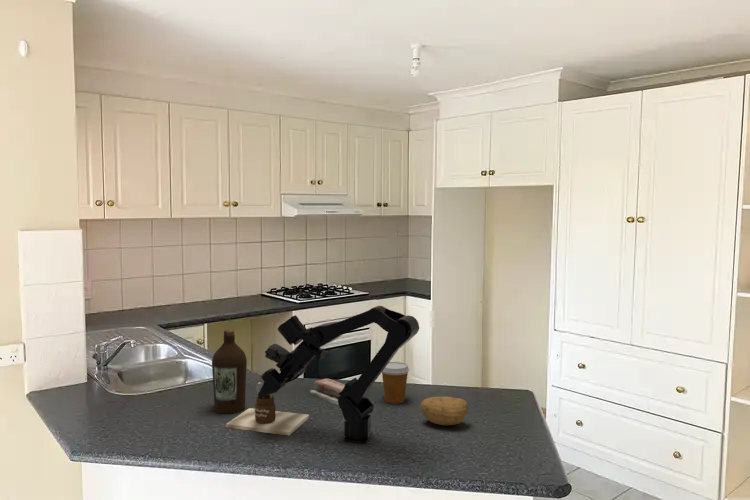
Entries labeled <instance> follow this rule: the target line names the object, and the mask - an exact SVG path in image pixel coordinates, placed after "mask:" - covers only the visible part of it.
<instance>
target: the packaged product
mask: <svg viewBox="0 0 750 500" xmlns="http://www.w3.org/2000/svg"><path fill="white" fill-rule="evenodd" d="M313 385H314V386H313V389H310V390H309V394H310V395H312V396H315V397H317V398H320V399H321V400H323V401H327V402H329V403H331V404H333V405H336V406H338V407H339V404H338V398H339V396H340V395H339V394H338V393H340V392H341V391H342V390H343V388H344V386H345V384H344V383H341V382H339V381H336V380H334V379H330V378H322V379H318V380H316V381H314V383H313Z"/></svg>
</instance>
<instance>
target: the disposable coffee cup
mask: <svg viewBox="0 0 750 500" xmlns="http://www.w3.org/2000/svg"><path fill="white" fill-rule="evenodd" d="M408 365H409V364H407V363H405V362H402V361H401V362H400V361H390V362H389V363H388V364H387V366H386V367H385V368H384V370H383V371H382V372H381V376H382V384H383V394H384V401H385V402H386V403H388V404H392V405H396V404H397V405H398V404H402V403H405V396H406V391H407V390H406V389H407V381H408V374H409V372H410V368H409V366H408Z"/></svg>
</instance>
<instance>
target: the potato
mask: <svg viewBox="0 0 750 500" xmlns="http://www.w3.org/2000/svg"><path fill="white" fill-rule="evenodd" d="M420 411H421V414H422V415H423V416H424V418H425V419H426V420H427V421H429V422H430V423H432V424H436V425H439V426H446V427H448V426H454V425H458V424H461V423H462V422H463V421H464V420H465V419H466V417H467V414H468V413H469V407H468V403H467V401H466V400H465V399H463V398H460V397H459V398H458V397H450V396H430V397H427V398H424V399H423V400H422V401H421V404H420Z"/></svg>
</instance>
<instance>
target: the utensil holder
mask: <svg viewBox="0 0 750 500" xmlns="http://www.w3.org/2000/svg"><path fill="white" fill-rule="evenodd" d="M258 386H259V387H262V382H258V383H257V384H256V390H257V393H259V392H260V390H259V387H258ZM274 396H275V395H273V393H272V394H269V395H266V396H264V397H261V398H260V397H259V396H258V395H257V396H256V400H255V405H254V409H255V420H256V422H258V423H262V424H265V423H271V422H273V421H274V420H275V416H276V409H277V408H276V402H275V397H274Z"/></svg>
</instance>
